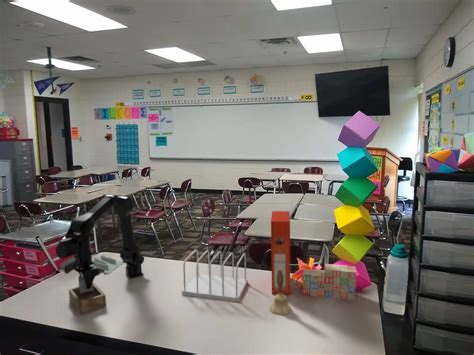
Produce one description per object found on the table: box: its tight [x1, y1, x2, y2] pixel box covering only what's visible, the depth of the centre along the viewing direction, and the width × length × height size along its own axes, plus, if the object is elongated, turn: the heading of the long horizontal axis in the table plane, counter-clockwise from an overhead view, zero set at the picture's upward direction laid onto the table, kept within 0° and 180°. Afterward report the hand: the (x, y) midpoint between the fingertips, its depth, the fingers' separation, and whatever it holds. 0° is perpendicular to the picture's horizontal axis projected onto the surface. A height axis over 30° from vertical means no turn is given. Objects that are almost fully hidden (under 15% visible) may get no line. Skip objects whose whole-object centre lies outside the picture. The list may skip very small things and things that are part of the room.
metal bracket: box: [90, 254, 125, 275], centre depth 177 cm, size 14×6×15 cm
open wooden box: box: [68, 281, 107, 316], centre depth 140 cm, size 10×15×5 cm, turn 39°
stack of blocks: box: [302, 263, 357, 301], centre depth 145 cm, size 21×6×12 cm, turn 75°
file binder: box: [270, 210, 291, 296], centre depth 152 cm, size 8×17×32 cm, turn 172°
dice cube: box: [77, 275, 93, 293], centre depth 140 cm, size 5×5×5 cm
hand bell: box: [269, 270, 292, 316], centre depth 133 cm, size 8×8×16 cm
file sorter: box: [181, 249, 249, 302], centre depth 151 cm, size 25×17×16 cm
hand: (86, 286), depth 140 cm, fingers closed on dice cube, 5 cm apart
